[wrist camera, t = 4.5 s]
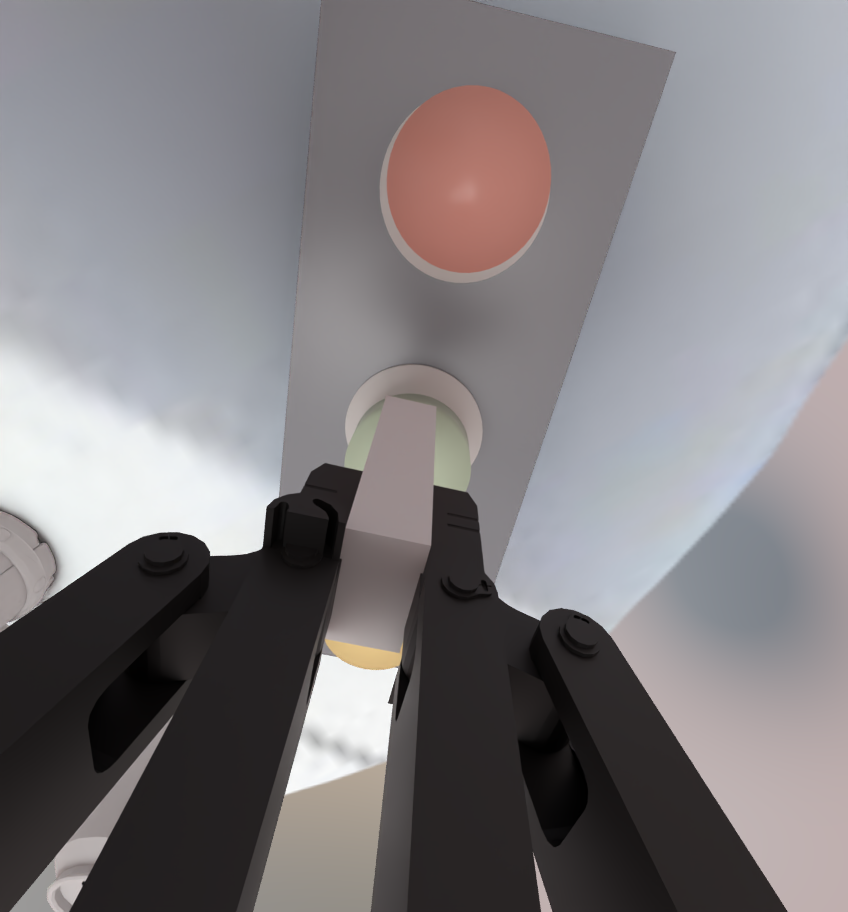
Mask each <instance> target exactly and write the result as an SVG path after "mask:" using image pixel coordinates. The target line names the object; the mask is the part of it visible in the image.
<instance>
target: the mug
mask: <svg viewBox="0 0 848 912" xmlns="http://www.w3.org/2000/svg"><path fill="white" fill-rule="evenodd" d="M37 537H38V535H37V533H36V532H35V531H34V530H33V529H32V528H31V527H29V526H28V525H26V524H25V523H23V522H22V521H21V520H19V519H17V518H16V517H14V516H12V515H10V514H8V513H5V512H2V511H0V632H2V631H3V630H5V629H6V628H7V627H9V626H8V625H7V624H6V623H7V622H11V621H14V620H16V619H18V618H21V617H22V616H24V615H26V614H27V613H28V612H30V611H31V610H32V609H33V608H34V607H35V606H36V605H37V604H38V603H39V602H40V601H41V599H42V597H43V595H44V594H45V590H46V589H47V588H48V587H49V586H50V584H51V583H52V582H53V580H54V577H53V576H52V575H53V574H54V573H55V572H56V564H55V560H54V557H53V554H52V552H51V549H50V548H49V546H48V545H47V543H39V541H38V539H37Z"/></svg>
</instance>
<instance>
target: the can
mask: <svg viewBox="0 0 848 912" xmlns="http://www.w3.org/2000/svg"><path fill="white" fill-rule="evenodd" d="M172 717H173V716H172ZM172 717H171V718H170V720H169V721H168V722H167V723H166V724H165V726H164V727H163V728H162V729H161V730H160V732H159V733H158V734H157V735H156V736H155V738H154V739H153V740H152V741H151V742H150V744H149V745H148V746H147V747H146V748H145V750H144V751H143V752H142V753H141V754H140V756H139V757H138V758H137V759H136V760H135V762H134V763H133V764H132V765H131V766H130V768H129V769H128V770H127V771H126V772H125V774H124V775H123V776H122V777H121V778H120V780H119V781H118V782H117V783H116V784H115V786H114V787H113V788H112V789H111V790H110V792H109V793H108V794H107V795H106V796H105V798H104V799H103V800H102V801H101V802H100V804H99V805H98V806H97V807H96V808H95V810H94V811H93V812H92V813H91V814H90V816H89V817H88V818H87V819H86V820H85V822H84V823H83V824H82V825H81V826H80V828H79V829H78V830H77V831H76V832H75V834H74V835H73V836H72V837H71V838H70V839H69V841H68V842H67V843H66V844H65V845H64V847H63V848H62V849H61V850H60V851H59V853H58V854H57V855H56V856H55V871H56V880H55V881H54V882H53V883H52V884H51V885H50V886H49V887H48V889H47V900H48V902H49V903H50V905H51V907H52V909H53V910H54V911H55V912H69V911H70V909H71V907H72V905H73V903H74V902H75V900H76V898H77V896H78V894H79V892H80V890H81V888H82V886H83V885H84V883H85V881H86V879H87V877H88V875H89V873H90V871H91V869H92V868H93V866H94V864H95V862H96V860H97V858H98V856H99V854H100V853H101V851H102V849H103V847H104V845H105V843H106V841H107V839H108V837H109V836H110V834H111V832H112V830H113V828H114V826H115V824H116V822H117V820H118V819H119V817H120V815H121V813H122V811H123V809H124V807H125V805H126V804H127V802H128V800H129V798H130V796H131V794H132V792H133V790H134V788H135V787H136V785H137V783H138V781H139V779H140V777H141V775H142V773H143V771H144V770H145V768H146V766H147V764H148V762H149V760H150V758H151V756H152V755H153V753H154V751H155V749H156V747H157V745H158V743H159V741H160V739H161V738H162V736H163V734H164V732H165V730H166V728H167V726H168V724H169V722H170V721H171V719H172Z"/></svg>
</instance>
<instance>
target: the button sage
mask: <svg viewBox="0 0 848 912" xmlns="http://www.w3.org/2000/svg"><path fill="white" fill-rule="evenodd" d="M392 397H397V398H401V399H405V400H410V401H414V402H419V403H423V404H427V405H432V406H436V433H435V459H434V484H433V485H436V486H441V487H445V488H450V489H455V490H459V491H464V492H466V490H467V487H468V484H469V481H470V476H471V462H470V452H469V441H468V436H467V432H466V430H465V427H464V425H463V424H462V422H461V420H460V419H459V417H458V416H457V415H456V414H455V413H454V412H453V411H452V410H451V409H450V408H449V407H448V406H446V405H445V404H444V403H442V402H440V401H438V400H436V399H434V398H432V397H429V396H425V395H421V394H410V393H406V394H398V395H394V396H392ZM384 402H385V399H383V400H381V401H379V402H377V403H376V404H374V405H373V406H372V407H370V408H369V409H368V410H367V411H366V412H365V414H364V415H363V416H362V418H361V419H360V421H359V423H358V425H357V427H356V429H355V431H354V434H353V436H352V438H351V440H350V443H349V445H348V448H347V450H346V455H345V463H344V467H346V468H351V469H355V470H360V471H363V470H364V466H365V463H366V460H367V457H368V453H369V450H370V447H371V444H372V440H373V437H374V434H375V431H376V427H377V424H378V421H379V418H380V415H381V411H382V408H383V405H384Z"/></svg>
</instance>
